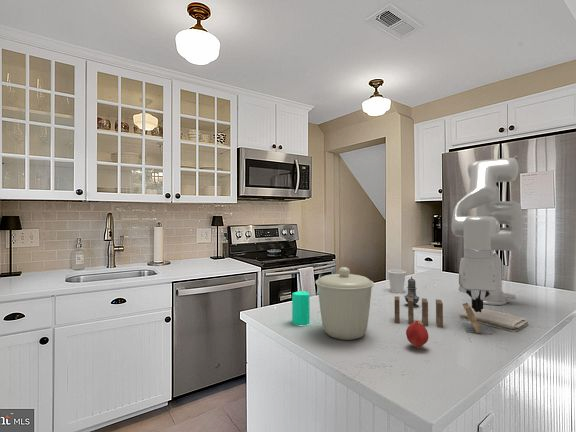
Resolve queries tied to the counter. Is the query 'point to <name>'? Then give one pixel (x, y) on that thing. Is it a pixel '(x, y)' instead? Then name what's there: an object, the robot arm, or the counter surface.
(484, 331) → the pad
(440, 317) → the domino
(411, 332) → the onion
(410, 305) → the domino
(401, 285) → the dixie cup
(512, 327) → the washcloth
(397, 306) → the domino
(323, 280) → the canister
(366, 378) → the counter surface
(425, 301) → the domino
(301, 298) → the candle
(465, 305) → the domino
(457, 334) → the counter surface
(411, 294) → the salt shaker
